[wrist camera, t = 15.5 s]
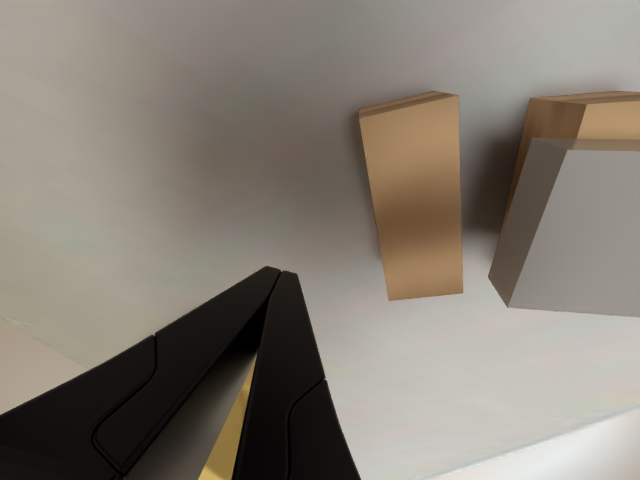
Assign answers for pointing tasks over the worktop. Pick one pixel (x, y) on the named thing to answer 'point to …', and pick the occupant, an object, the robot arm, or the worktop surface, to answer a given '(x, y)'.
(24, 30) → the worktop surface
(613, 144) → the slab
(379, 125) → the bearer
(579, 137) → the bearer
